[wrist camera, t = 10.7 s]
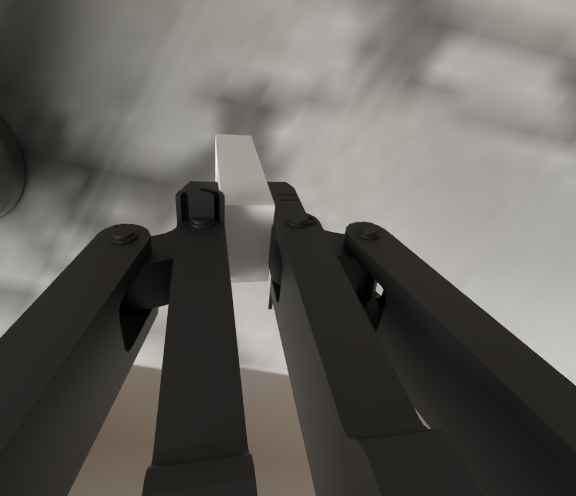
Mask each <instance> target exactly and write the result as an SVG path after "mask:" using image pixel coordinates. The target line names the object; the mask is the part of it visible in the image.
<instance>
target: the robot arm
mask: <svg viewBox="0 0 576 496" xmlns="http://www.w3.org/2000/svg"><path fill="white" fill-rule="evenodd" d="M24 184H25V165H24V160H23V156H22V153H21V150H20V147H19V145H18V143H17V141H16V139H15V137H14V135H13V133H12V132H11V130H10V129H9V127H8V126H7V125H6V123H5V122H4V121H3V120H2V118H1V117H0V217H2V216H3V215H5V214H6V213H8V212H9V211H10V210H11V209H12V208H13V207H14V206H15V205H16V204H17V202H18V201H19V199H20V197H21V195H22V192H23V189H24ZM176 211H177V227H176V228H175V229H173V230H172V231H170V232H167V233H164V234H160V235H156V236H150V233H149V231H148V229H146V228H144V227H142V226H139V225H135V224H120V225H119V224H118V225H114V226H111V227H109V228H106V229H104V230H103V231H101V232H100V233H98V234H97V235H96V236H95V238H94V239H93V240H92V241H91V242H90V243H89V244H88V245H87V246H86V247H85V248H84V249H83V250H82V251H81V252H80V254H79V255H78V256H77V257H76V258H75V259H74V260H73V261H72V262H71V263H70V264H69V265H68V266H67V267H66V268H65V270H64V271H63V272H62V273H61V274H60V275H59V276H58V277H57V278H56V279H55V280H54V281H53V282H52V283H51V284H50V286H49V287H48V288H47V289H46V290H45V291H44V292H43V293H42V294H41V295H40V296H39V297H38V298H37V299H36V301H35V302H34V303H33V304H32V305H31V306H30V307H29V308H28V309H27V310H26V311H25V312H24V313H23V314H22V315H21V317H20V318H19V319H18V320H17V321H16V322H15V323H14V324H13V325H12V326H11V327H10V328H9V329H8V330H7V331H6V333H5V334H4V335H3V336H2V337H1V338H0V496H67V495H68V493H69V491H70V489H71V487H72V485H73V483H74V481H75V479H76V477H77V475H78V473H79V471H80V469H81V467H82V465H83V463H84V461H85V459H86V457H87V455H88V452H89V451H90V449H91V447H92V445H93V443H94V441H95V439H96V437H97V435H98V433H99V431H100V429H101V427H102V425H103V423H104V421H105V419H106V417H107V415H108V413H109V411H110V409H111V407H112V405H113V403H114V401H115V399H116V397H117V395H118V393H119V391H120V389H121V386H122V384H123V383H124V381H125V379H126V377H127V375H128V373H129V371H130V369H131V367H132V365H133V363H134V361H135V359H136V357H137V355H138V353H139V351H140V349H141V347H142V345H143V343H144V341H145V339H146V337H147V335H148V333H149V331H150V329H151V327H152V324H153V322H154V320H155V318H156V316H157V314H158V307H160V306H164V305H168V304H169V307H168V316H167V326H166V336H165V345H164V355H163V364H162V375H161V384H160V393H159V404H158V413H157V422H156V432H155V443H154V451H153V459H152V463H151V465H150V466H149V467H148V468H147V471H146V475H145V479H144V485H143V493H142V496H257V487H256V479H255V472H254V464H253V459H252V455H251V454H250V453H249V450H248V444H247V435H246V425H245V415H244V406H243V397H242V386H241V378H240V367H239V357H238V347H237V338H236V328H235V318H234V309H233V299H232V289H231V282H252V281H268V276H269V269H270V273H271V286H270V297H269V308H268V309H272V304H273V306H274V310H275V314H276V319H277V323H278V328H279V332H280V337H281V341H282V346H283V350H284V355H285V359H286V364H287V368H288V373H289V377H290V381H291V385H292V390H293V395H294V399H295V404H296V408H297V413H298V417H299V422H300V426H301V430H302V435H303V439H304V444H305V448H306V453H307V457H308V462H309V466H310V471H311V475H312V479H313V484H314V488H315V493H316V496H576V386H575V385H574V384H573V383H572V382H571V381H569V380H568V379H567V378H566V377H564V376H563V375H562V374H561V373H560V372H558V371H557V370H556V369H555V368H554V367H552V366H551V365H550V364H549V363H547V362H546V361H545V360H544V359H543V358H541V357H540V356H539V355H538V354H536V353H535V352H534V351H533V350H532V349H530V348H529V347H528V346H527V345H525V344H524V343H523V342H522V341H521V340H519V339H518V338H517V337H516V336H515V335H513V334H512V333H511V332H510V331H508V330H507V329H506V328H505V327H504V326H502V325H501V324H500V323H499V322H497V321H496V320H495V319H494V318H493V317H491V316H490V315H489V314H488V313H486V312H485V311H484V310H483V309H482V308H480V307H479V306H478V305H477V304H475V303H474V302H473V301H472V300H471V299H469V298H468V297H467V296H466V295H465V294H463V293H462V292H461V291H460V290H458V289H457V288H456V287H455V286H454V285H452V284H451V283H450V282H449V281H447V280H446V279H445V278H444V277H443V276H441V275H440V274H439V273H438V272H436V271H435V270H434V269H433V268H432V267H430V266H429V265H428V264H427V263H425V262H424V261H423V260H422V259H421V258H419V257H418V256H417V255H416V254H415V253H413V252H412V251H411V250H410V249H408V248H407V247H406V246H405V245H404V244H402V243H401V242H400V241H399V240H397V239H396V238H395V237H394V236H393V235H391V234H390V233H389V232H388V231H386V230H385V229H383V228H382V227H380V226H378V225H375V224H373V223H370V222H368V223H367V222H355V223H352V224H349V225H348V226H347V227H346V232H345V234H340V233H334V232H329V231H325V230H323V228H322V226H321V224H320V222H319V221H318V219H317V218H316V217H314V216H312V215H310V214H307V213H306V212H305V210H304V208H303V206H302V204H301V202H300V199H299V197H298V196H297V193H296V191H295V189H294V188H293V187H292V186H291V185H289V184H288V183H286V182H267V181H266V178H265V175H264V172H263V169H262V166H261V163H260V160H259V157H258V155H257V152H256V149H255V146H254V143H253V140H252V137H251V136H250V135H227V134H215V182H196V181H190V182H189V183H188V184H187V185H185V186H184V187H183V189H182V190H180V191H178V192H177V194H176ZM377 283H379V284H380V285H381V286H382V288H383V289H384V290H383V293H382V296H381V295H379V294H378V293H377V292H376V291H375V290H376V286H377ZM413 406H414V407H413ZM414 408H415V409H416V410H417V412H418V413H419V414H420V415H421V417H422V418H423V419H424V420H425V422H426V423H427V424H428V425H429V427H430V428H431V429H428V428H427V427H425V426H424V425H423V424H422V422H421V420H420V419H419V417H418V415H417V413H416V411H415V409H414Z"/></svg>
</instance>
